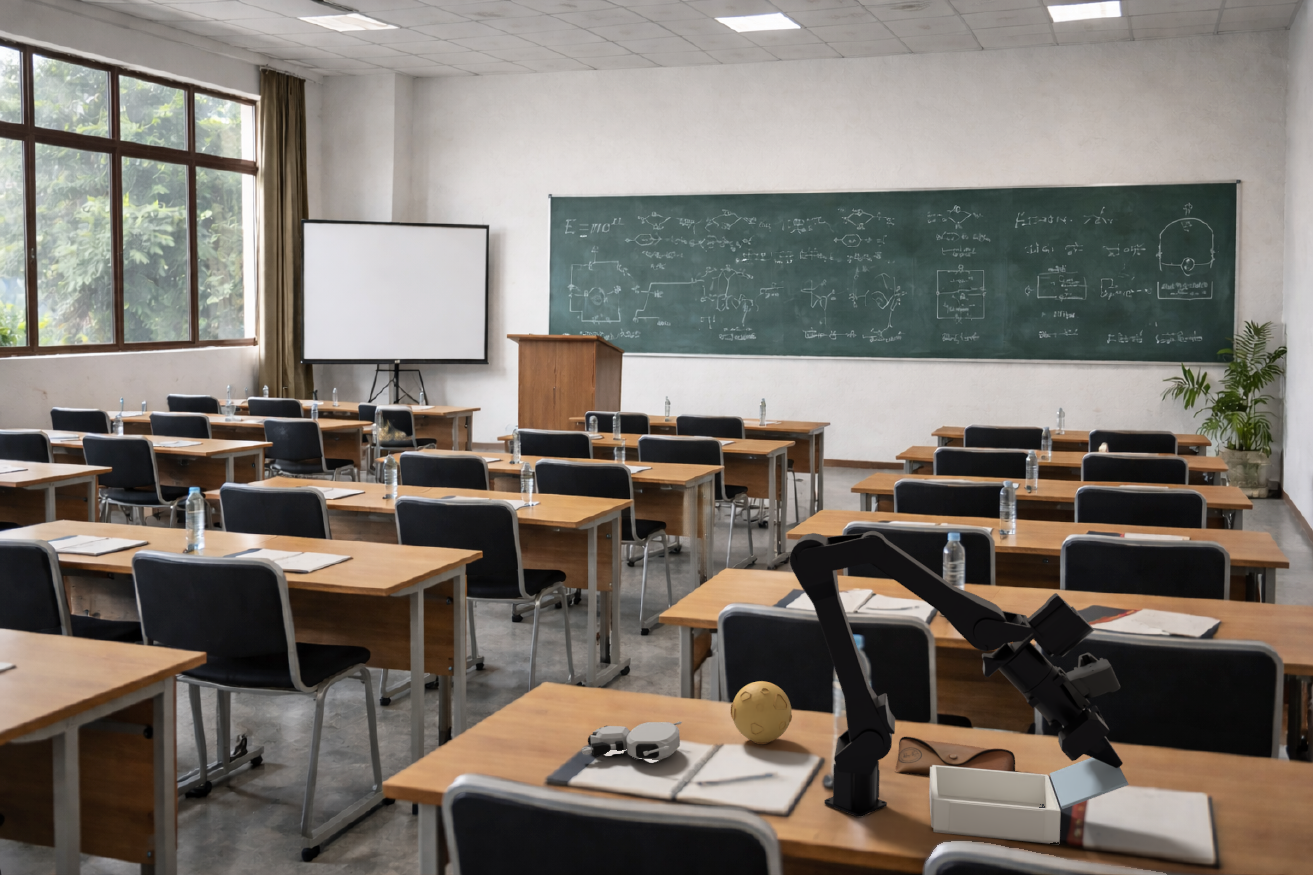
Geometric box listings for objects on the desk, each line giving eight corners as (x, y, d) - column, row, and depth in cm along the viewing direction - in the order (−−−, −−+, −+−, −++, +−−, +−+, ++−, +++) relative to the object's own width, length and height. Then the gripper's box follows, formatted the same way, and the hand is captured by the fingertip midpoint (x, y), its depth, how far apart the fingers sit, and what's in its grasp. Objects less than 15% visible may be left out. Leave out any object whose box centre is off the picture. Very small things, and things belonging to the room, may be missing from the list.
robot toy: (579, 771, 171) (673, 771, 168) (577, 742, 171) (671, 742, 168) (598, 744, 183) (686, 744, 180) (596, 717, 183) (684, 717, 180)
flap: (1060, 806, 144) (1127, 781, 142) (1049, 773, 156) (1110, 750, 154) (1062, 809, 144) (1129, 784, 142) (1050, 775, 156) (1112, 752, 154)
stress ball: (748, 735, 188) (710, 704, 184) (786, 691, 189) (749, 660, 185) (774, 764, 179) (734, 733, 175) (813, 718, 180) (774, 685, 175)
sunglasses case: (891, 772, 169) (895, 729, 171) (895, 781, 174) (899, 739, 177) (1014, 788, 163) (1016, 743, 165) (1014, 797, 169) (1016, 753, 171)
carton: (931, 832, 147) (932, 799, 147) (929, 793, 160) (929, 763, 160) (1059, 845, 144) (1060, 811, 143) (1046, 804, 157) (1047, 773, 157)
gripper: (1093, 658, 139) (1184, 751, 137) (1072, 624, 157) (1152, 706, 155) (1026, 714, 141) (1114, 806, 139) (1012, 674, 159) (1090, 755, 157)
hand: (1119, 765), depth 148 cm, fingers closed, pressing on flap
